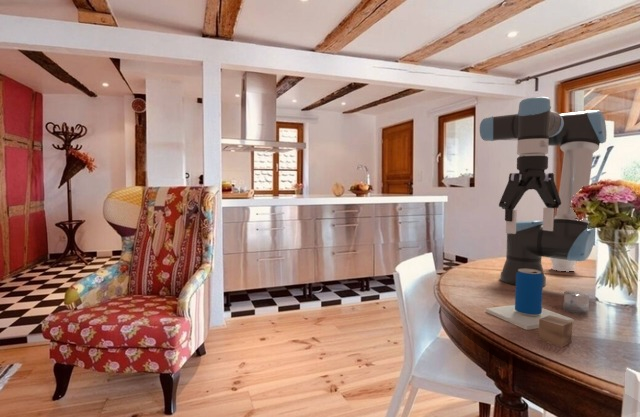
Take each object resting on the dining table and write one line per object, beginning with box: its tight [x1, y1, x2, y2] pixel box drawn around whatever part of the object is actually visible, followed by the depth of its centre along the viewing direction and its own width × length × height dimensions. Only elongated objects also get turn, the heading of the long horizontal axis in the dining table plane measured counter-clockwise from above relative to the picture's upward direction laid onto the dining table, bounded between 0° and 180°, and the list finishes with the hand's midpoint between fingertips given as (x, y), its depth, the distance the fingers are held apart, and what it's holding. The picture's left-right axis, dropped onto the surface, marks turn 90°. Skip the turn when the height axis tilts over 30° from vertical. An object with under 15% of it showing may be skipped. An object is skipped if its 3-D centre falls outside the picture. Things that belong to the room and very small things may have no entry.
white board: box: [485, 304, 574, 331], centre depth 103 cm, size 16×14×1 cm
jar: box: [550, 258, 578, 273], centre depth 160 cm, size 11×10×15 cm
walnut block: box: [537, 315, 574, 348], centre depth 87 cm, size 5×5×5 cm
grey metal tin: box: [562, 290, 590, 315], centre depth 108 cm, size 6×6×5 cm
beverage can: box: [514, 268, 544, 317], centre depth 103 cm, size 6×6×12 cm
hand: (529, 231), depth 104 cm, fingers open, 13 cm apart
